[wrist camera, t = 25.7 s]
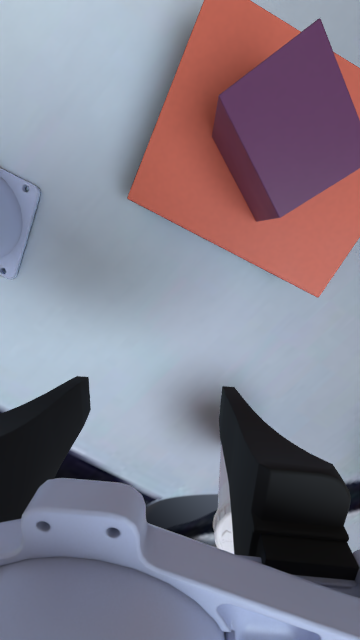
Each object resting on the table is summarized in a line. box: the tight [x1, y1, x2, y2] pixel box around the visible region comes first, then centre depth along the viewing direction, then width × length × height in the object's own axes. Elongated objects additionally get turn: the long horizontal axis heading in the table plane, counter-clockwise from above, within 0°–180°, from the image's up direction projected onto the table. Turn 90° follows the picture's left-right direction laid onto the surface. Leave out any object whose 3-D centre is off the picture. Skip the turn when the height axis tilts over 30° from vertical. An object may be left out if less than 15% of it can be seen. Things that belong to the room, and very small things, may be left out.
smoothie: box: [213, 444, 234, 554], centre depth 21 cm, size 6×6×14 cm
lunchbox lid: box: [127, 0, 360, 297], centre depth 16 cm, size 14×11×1 cm
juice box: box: [212, 19, 360, 222], centre depth 14 cm, size 4×6×5 cm
